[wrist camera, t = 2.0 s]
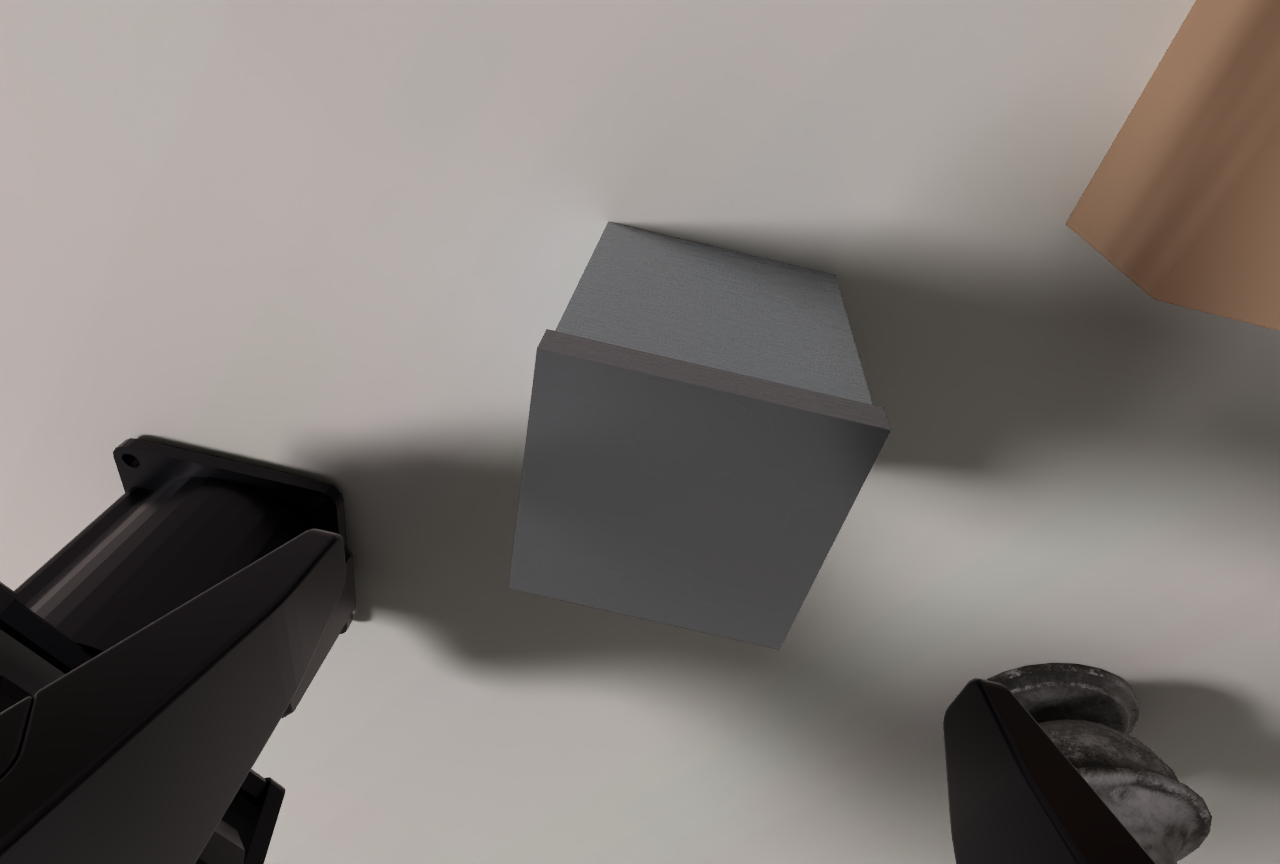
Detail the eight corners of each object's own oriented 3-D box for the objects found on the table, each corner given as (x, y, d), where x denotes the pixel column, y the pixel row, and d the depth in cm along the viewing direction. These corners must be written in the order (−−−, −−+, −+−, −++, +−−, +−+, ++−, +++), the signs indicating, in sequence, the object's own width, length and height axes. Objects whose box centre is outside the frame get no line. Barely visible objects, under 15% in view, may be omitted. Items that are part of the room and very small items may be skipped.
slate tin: (572, 412, 18) (508, 588, 13) (604, 215, 15) (537, 347, 10) (768, 457, 18) (778, 649, 13) (841, 271, 15) (890, 429, 10)
